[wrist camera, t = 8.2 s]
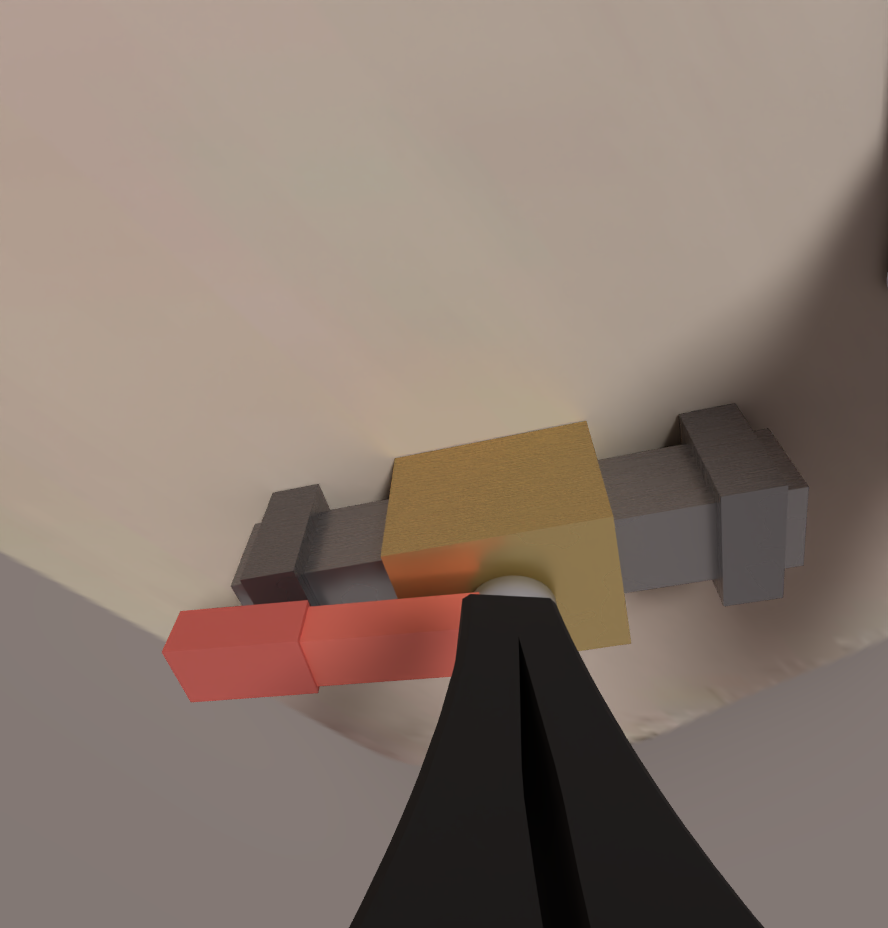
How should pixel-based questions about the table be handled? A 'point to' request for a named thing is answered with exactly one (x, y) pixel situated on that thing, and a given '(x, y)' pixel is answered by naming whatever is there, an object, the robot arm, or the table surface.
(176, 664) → the lever
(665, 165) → the table surface
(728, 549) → the pipe valve
